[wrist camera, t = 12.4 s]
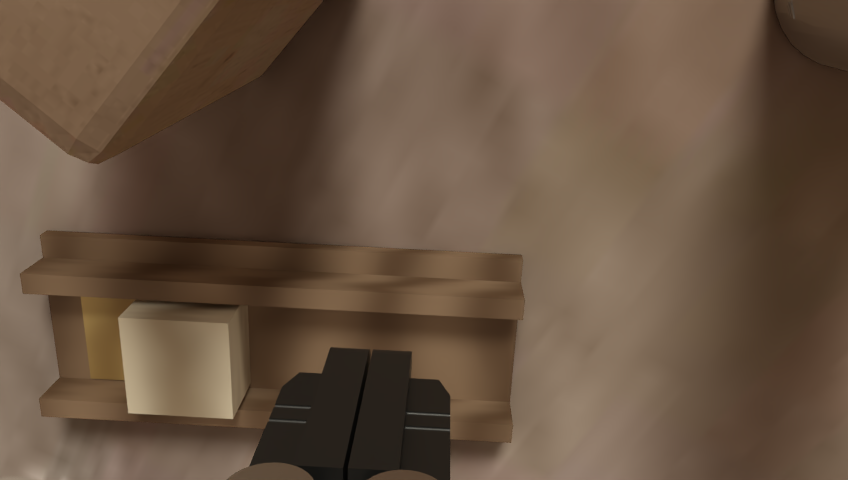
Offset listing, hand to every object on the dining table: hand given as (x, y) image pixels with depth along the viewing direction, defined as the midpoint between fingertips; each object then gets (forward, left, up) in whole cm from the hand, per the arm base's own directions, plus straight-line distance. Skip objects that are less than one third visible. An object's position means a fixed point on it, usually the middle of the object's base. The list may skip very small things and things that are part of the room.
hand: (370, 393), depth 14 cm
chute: (+8, +14, -29) cm, 33 cm away
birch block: (+13, +14, -28) cm, 34 cm away
